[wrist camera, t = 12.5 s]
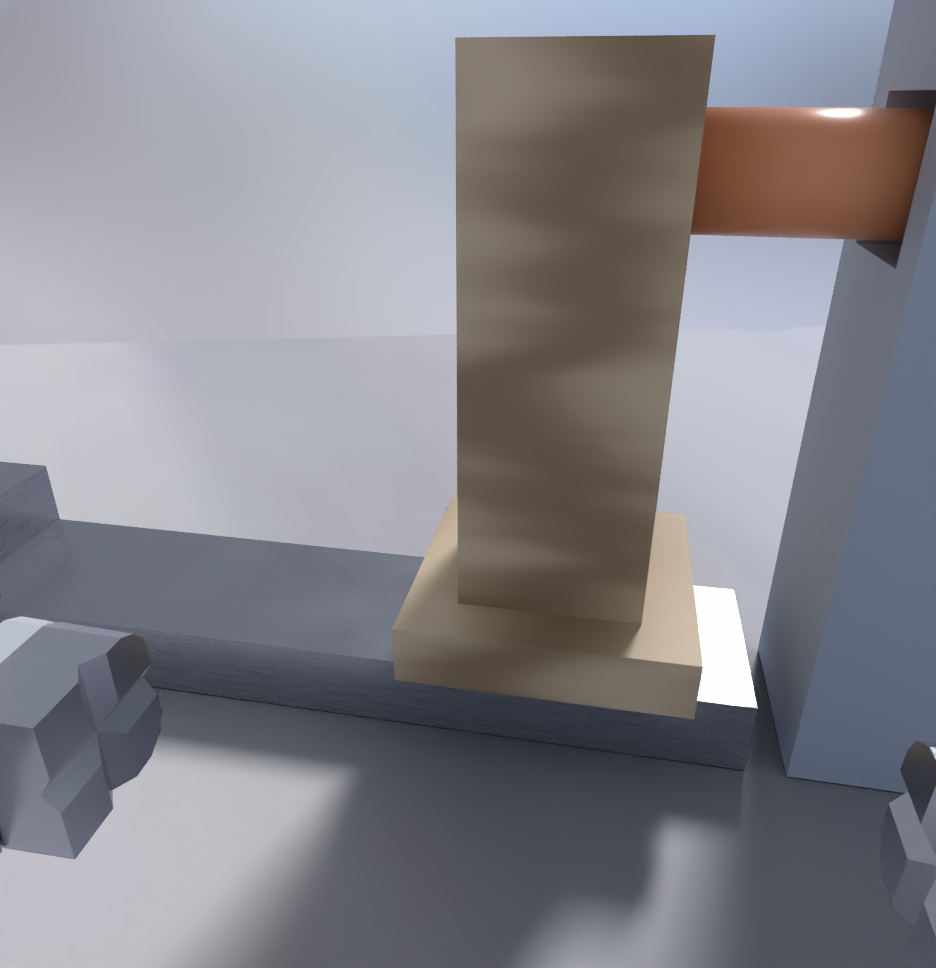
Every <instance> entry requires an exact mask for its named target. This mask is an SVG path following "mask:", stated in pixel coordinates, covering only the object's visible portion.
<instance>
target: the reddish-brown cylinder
mask: <svg viewBox="0 0 936 968" xmlns="http://www.w3.org/2000/svg"><path fill="white" fill-rule="evenodd" d="M934 111H935V108H795V107H794V108H792V107H791V108H790V107H788V108H786V107H782V108H781V107H780V108H779V107H706V114H705V122H704V130H703V138H702V146H701V154H700V162H699V170H698V178H697V186H696V194H695V202H694V210H693V218H692V226H691V234H692V235H723V236H756V237H788V238H821V239H851V240H883V241H903V238H904V234H905V230H906V226H907V222H908V218H909V214H910V209H911V205H912V201H913V197H914V193H915V189H916V185H917V181H918V177H919V172H920V168H921V164H922V160H923V156H924V152H925V148H926V144H927V140H928V135H929V131H930V127H931V123H932V119H933V115H934Z"/></svg>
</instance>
